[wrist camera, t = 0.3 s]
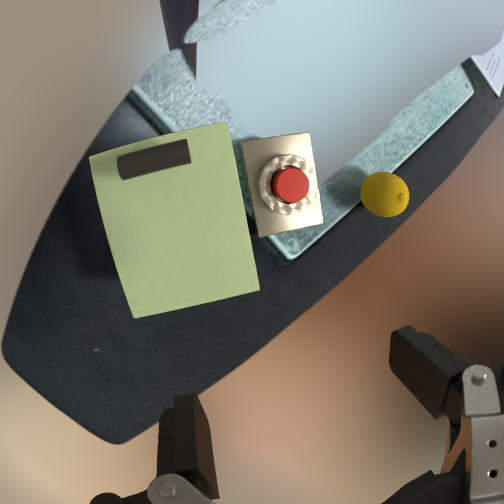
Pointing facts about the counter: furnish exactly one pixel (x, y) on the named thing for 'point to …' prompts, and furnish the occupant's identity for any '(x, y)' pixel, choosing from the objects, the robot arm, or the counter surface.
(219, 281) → the lid
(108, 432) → the counter surface
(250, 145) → the switch block
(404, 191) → the lemon
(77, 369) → the counter surface
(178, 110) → the counter surface
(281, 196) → the button
